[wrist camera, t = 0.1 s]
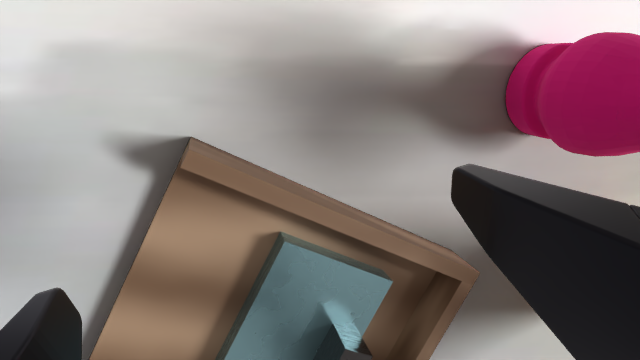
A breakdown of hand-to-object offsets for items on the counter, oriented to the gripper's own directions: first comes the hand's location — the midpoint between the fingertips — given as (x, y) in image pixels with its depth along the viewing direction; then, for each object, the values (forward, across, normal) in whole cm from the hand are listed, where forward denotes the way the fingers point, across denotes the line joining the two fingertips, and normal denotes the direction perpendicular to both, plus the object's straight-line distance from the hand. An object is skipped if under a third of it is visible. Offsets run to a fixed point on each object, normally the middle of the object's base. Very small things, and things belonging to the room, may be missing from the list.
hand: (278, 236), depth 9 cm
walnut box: (+12, 0, +17) cm, 20 cm away
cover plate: (+11, 0, +17) cm, 20 cm away
